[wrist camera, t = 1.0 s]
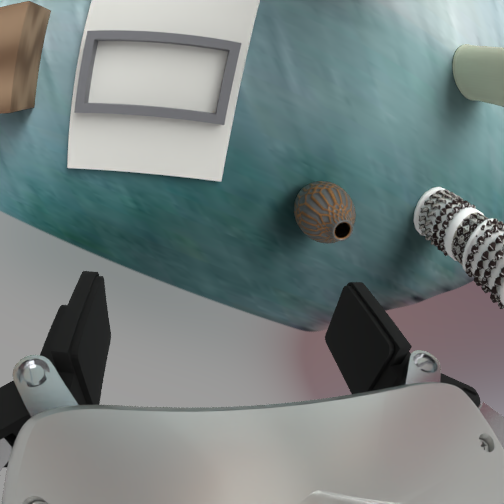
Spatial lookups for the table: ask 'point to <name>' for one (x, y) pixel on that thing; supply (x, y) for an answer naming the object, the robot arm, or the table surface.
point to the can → (480, 73)
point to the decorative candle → (464, 237)
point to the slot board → (159, 85)
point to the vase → (324, 212)
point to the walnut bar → (20, 54)
